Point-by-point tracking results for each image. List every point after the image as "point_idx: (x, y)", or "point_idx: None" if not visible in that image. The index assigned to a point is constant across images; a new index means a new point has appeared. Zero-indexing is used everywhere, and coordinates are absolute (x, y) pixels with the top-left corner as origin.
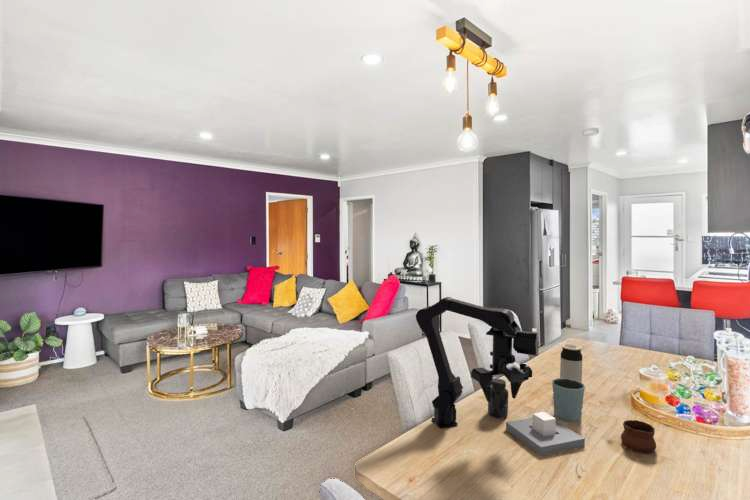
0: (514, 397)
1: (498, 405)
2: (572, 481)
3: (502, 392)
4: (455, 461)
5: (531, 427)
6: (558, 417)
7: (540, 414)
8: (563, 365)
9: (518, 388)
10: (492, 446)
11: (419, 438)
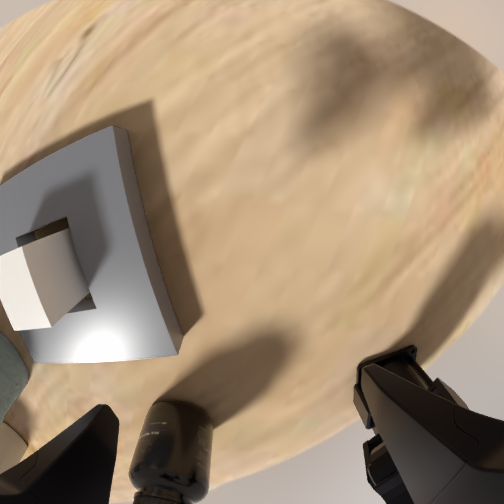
0: (101, 409)
1: (180, 437)
2: (122, 7)
3: (155, 477)
4: (447, 145)
5: (87, 307)
6: (18, 358)
7: (25, 311)
8: (1, 472)
9: (41, 454)
10: (298, 213)
11: (478, 285)
